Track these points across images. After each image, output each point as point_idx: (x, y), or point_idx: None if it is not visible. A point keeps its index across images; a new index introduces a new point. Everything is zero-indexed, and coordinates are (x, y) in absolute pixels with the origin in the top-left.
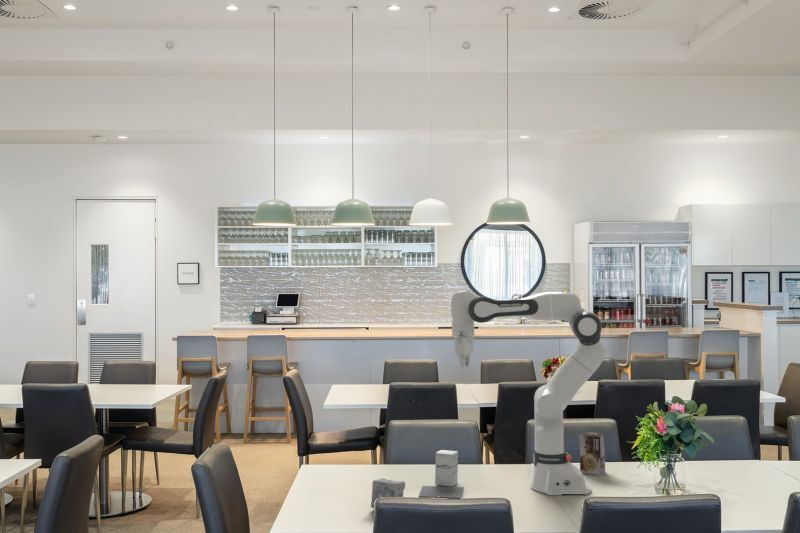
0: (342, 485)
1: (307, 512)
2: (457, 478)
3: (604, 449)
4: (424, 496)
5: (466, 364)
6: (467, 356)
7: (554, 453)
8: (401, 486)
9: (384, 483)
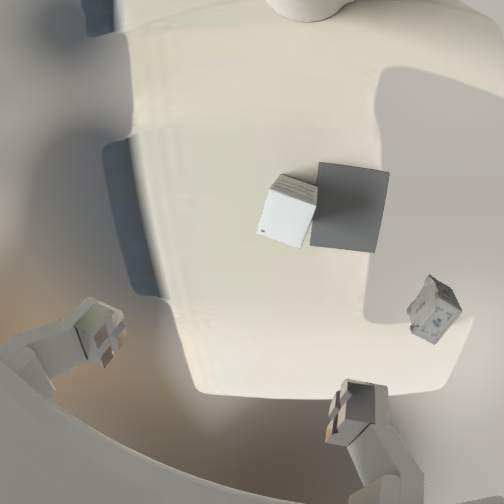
0: (298, 359)
1: (409, 378)
2: (280, 175)
3: None
4: (376, 242)
5: (111, 333)
6: (37, 373)
7: None
8: (447, 299)
9: (449, 327)
